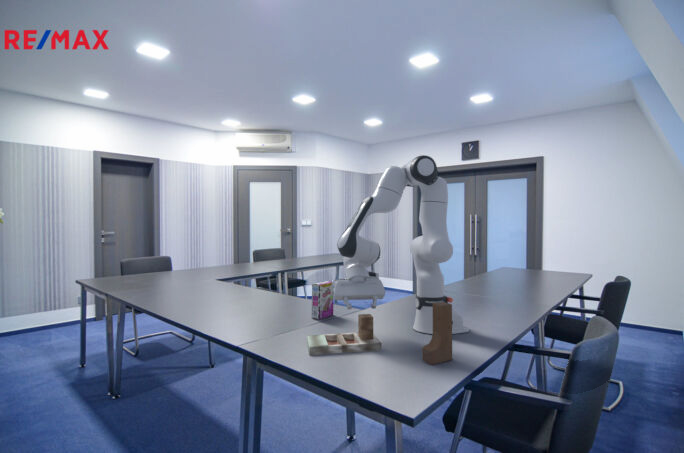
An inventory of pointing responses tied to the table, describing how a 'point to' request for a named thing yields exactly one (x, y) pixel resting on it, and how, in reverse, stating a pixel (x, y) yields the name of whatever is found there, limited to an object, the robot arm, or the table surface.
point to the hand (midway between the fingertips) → (361, 308)
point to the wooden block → (440, 335)
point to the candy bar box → (322, 300)
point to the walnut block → (365, 326)
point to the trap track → (340, 343)
